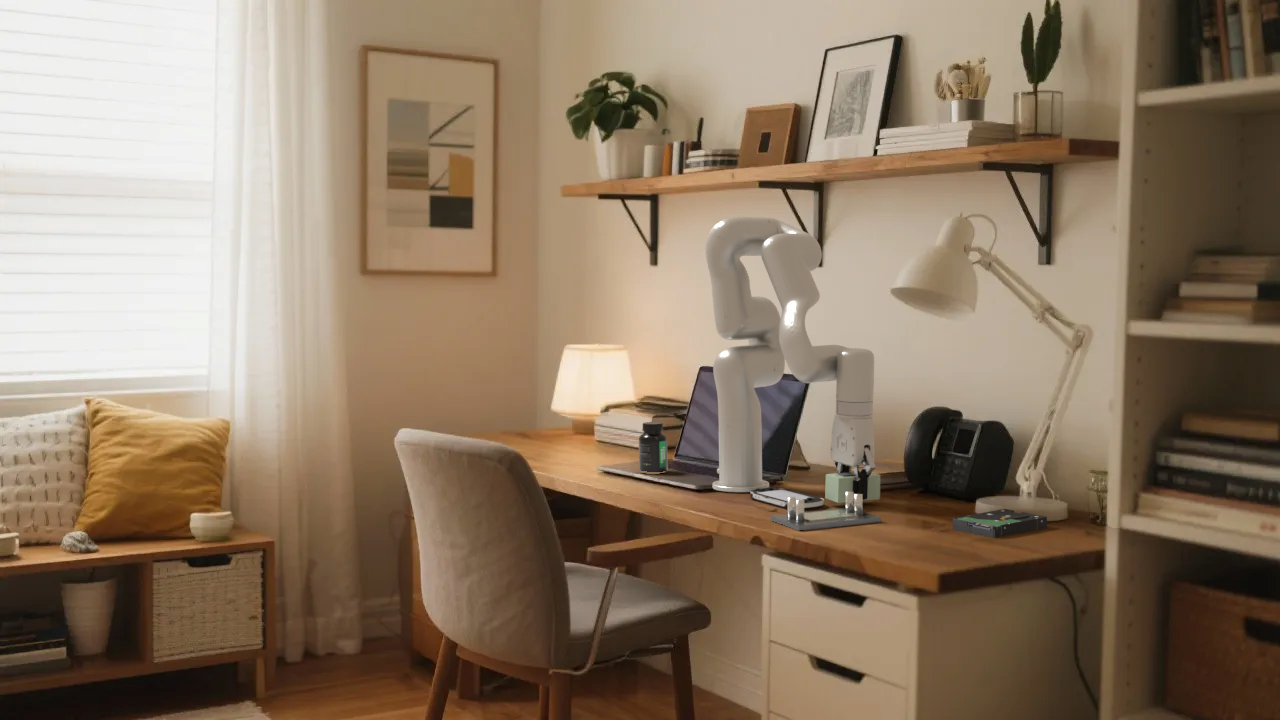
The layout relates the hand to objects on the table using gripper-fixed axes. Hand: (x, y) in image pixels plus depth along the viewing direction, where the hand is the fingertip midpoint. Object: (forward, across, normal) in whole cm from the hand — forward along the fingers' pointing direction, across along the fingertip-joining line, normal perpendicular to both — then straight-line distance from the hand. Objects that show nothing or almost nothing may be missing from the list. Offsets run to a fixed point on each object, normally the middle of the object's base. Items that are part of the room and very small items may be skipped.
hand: (852, 495), depth 275 cm
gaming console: (+3, -9, -10) cm, 14 cm away
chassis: (+2, +12, -14) cm, 18 cm away
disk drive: (+1, +33, +12) cm, 35 cm away
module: (+1, 0, 0) cm, 1 cm away
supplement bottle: (+4, -59, -19) cm, 62 cm away
